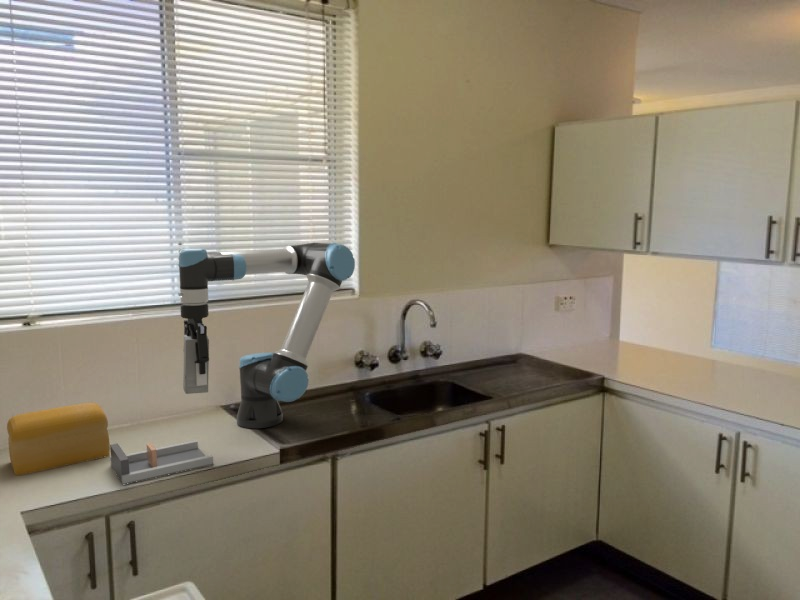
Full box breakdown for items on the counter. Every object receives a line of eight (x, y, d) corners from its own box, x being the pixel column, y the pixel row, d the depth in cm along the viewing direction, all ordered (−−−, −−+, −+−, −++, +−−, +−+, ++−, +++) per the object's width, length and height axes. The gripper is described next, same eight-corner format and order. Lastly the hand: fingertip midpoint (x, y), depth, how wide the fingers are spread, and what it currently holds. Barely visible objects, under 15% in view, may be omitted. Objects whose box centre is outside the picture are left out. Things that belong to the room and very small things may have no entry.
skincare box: (183, 388, 194) (180, 334, 192) (208, 386, 197) (206, 333, 195) (185, 394, 186) (182, 338, 185) (211, 392, 189) (209, 337, 187)
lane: (196, 447, 200) (195, 427, 199) (213, 464, 187) (212, 442, 186) (111, 465, 187) (109, 443, 186) (123, 485, 174) (121, 461, 173)
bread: (101, 443, 205) (97, 396, 203) (111, 456, 195) (107, 406, 192) (9, 462, 191) (4, 411, 189) (15, 476, 181) (9, 423, 178)
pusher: (152, 460, 188) (150, 443, 188) (157, 466, 183) (156, 449, 183) (147, 460, 188) (146, 443, 187) (152, 467, 183) (151, 450, 182)
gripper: (170, 300, 195) (173, 375, 198) (192, 309, 178) (194, 391, 180) (196, 298, 199) (198, 372, 202) (219, 307, 182) (221, 387, 184)
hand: (196, 381), depth 191 cm, fingers closed on skincare box, 9 cm apart
